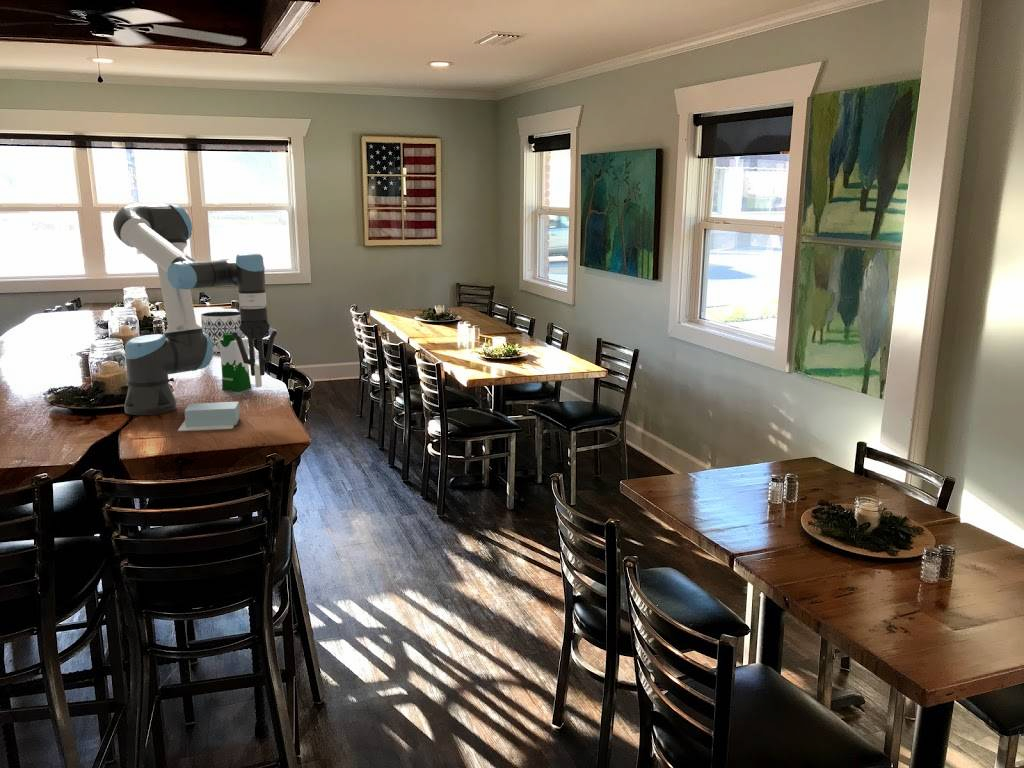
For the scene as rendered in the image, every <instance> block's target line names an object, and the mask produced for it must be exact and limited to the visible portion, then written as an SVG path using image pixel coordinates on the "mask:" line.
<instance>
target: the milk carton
mask: <svg viewBox="0 0 1024 768" xmlns="http://www.w3.org/2000/svg"><path fill="white" fill-rule="evenodd" d="M217 341H218V345H219V348H220V353H219V354H220V364H221V365H220V366H221V390H222V391H227V392H236V393H238V392H242V391H246V390H249V389H248V388H250V389H252V384H251V377H250V368H249V367H250V365H249V364H245V363H244V362H243V359H242V356H241V353H240V350H239V347H238V344H237V341H236V339H235V338H234V336H233V335H232V333H227V334H223V339H220V340H217ZM242 341H243V344H244V347H245V350H246V353H247V356H248V357H249V343H248V338H247V337H245V338H242ZM245 389H246V390H245Z"/></svg>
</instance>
